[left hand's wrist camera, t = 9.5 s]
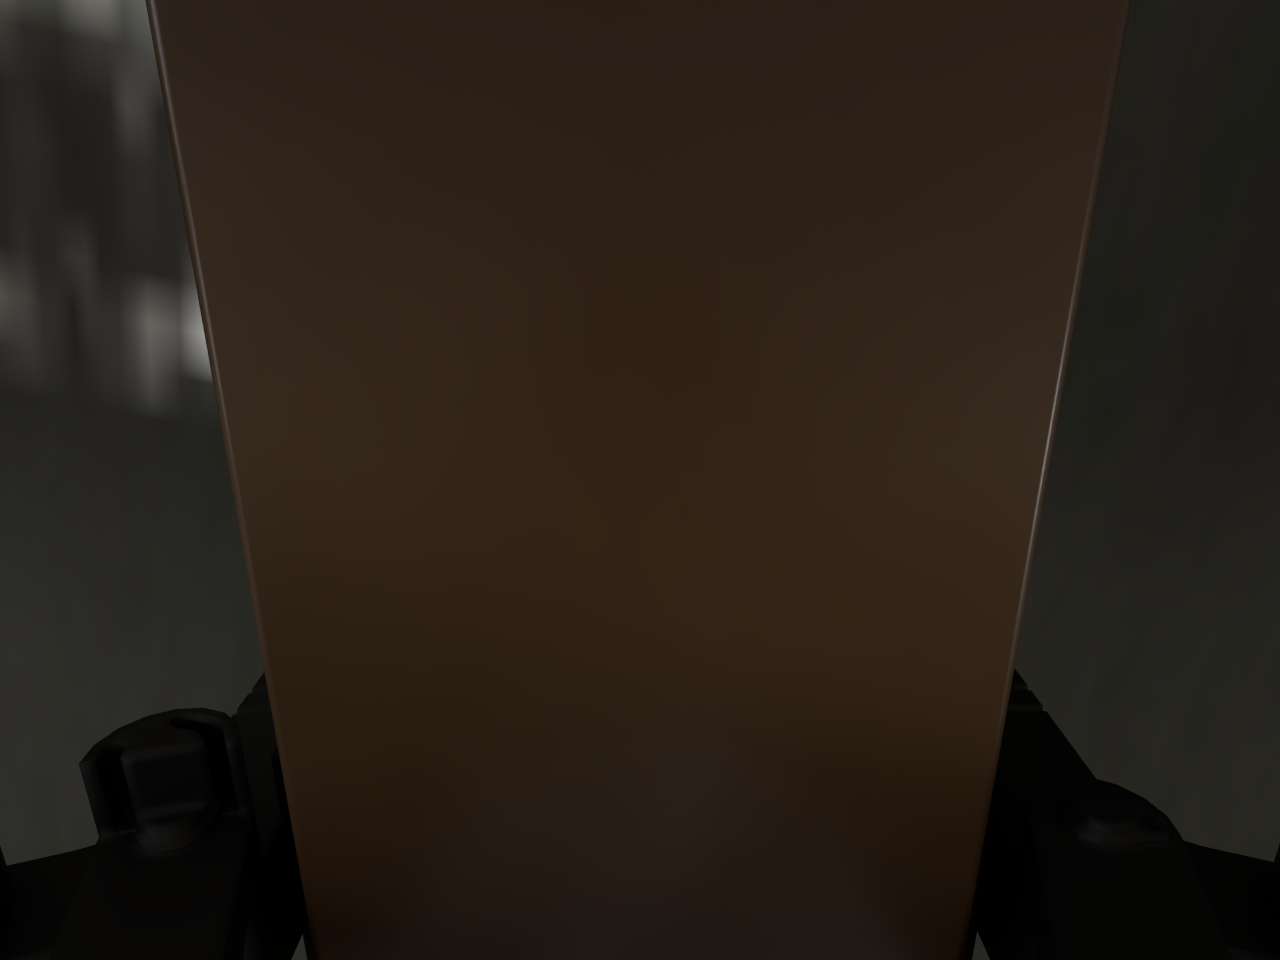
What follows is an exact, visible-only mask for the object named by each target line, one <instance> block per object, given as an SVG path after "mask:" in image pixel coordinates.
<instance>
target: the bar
mask: <svg viewBox="0 0 1280 960" xmlns="http://www.w3.org/2000/svg"><path fill="white" fill-rule="evenodd" d="M146 5H147V11H148V17H149V22H150V28H151V34H152V39H153V45H154V51H155V56H156V62H157V68H158V73H159V79H160V85H161V90H162V96H163V101H164V107H165V113H166V118H167V124H168V130H169V135H170V141H171V147H172V152H173V158H174V164H175V169H176V175H177V181H178V186H179V192H180V197H181V203H182V209H183V214H184V220H185V226H186V231H187V237H188V243H189V248H190V254H191V260H192V265H193V271H194V277H195V282H196V288H197V293H198V299H199V305H200V310H201V316H202V322H203V327H204V333H205V339H206V344H207V350H208V356H209V361H210V367H211V373H212V378H213V384H214V389H215V395H216V401H217V406H218V412H219V418H220V423H221V429H222V435H223V440H224V446H225V452H226V457H227V463H228V469H229V474H230V480H231V485H232V491H233V497H234V502H235V508H236V514H237V519H238V525H239V531H240V536H241V542H242V548H243V553H244V559H245V565H246V570H247V576H248V581H249V587H250V593H251V598H252V604H253V610H254V615H255V621H256V627H257V632H258V638H259V644H260V649H261V655H262V661H263V666H264V672H265V677H266V683H267V689H268V694H269V700H270V706H271V711H272V717H273V723H274V728H275V734H276V740H277V745H278V751H279V757H280V762H281V768H282V773H283V779H284V785H285V790H286V796H287V802H288V807H289V813H290V819H291V824H292V830H293V836H294V841H295V847H296V853H297V858H298V864H299V869H300V875H301V881H302V886H303V892H304V898H305V903H306V909H307V915H308V920H309V926H310V932H311V937H312V943H313V949H314V954H315V960H963V958H964V952H965V946H966V940H967V935H968V929H969V923H970V918H971V912H972V906H973V900H974V895H975V889H976V883H977V878H978V872H979V866H980V861H981V855H982V849H983V843H984V838H985V832H986V826H987V821H988V815H989V809H990V803H991V798H992V792H993V786H994V781H995V775H996V769H997V764H998V758H999V752H1000V746H1001V741H1002V735H1003V729H1004V724H1005V718H1006V712H1007V706H1008V701H1009V695H1010V689H1011V684H1012V678H1013V672H1014V667H1015V661H1016V655H1017V649H1018V644H1019V638H1020V632H1021V627H1022V621H1023V615H1024V610H1025V604H1026V598H1027V592H1028V587H1029V581H1030V575H1031V570H1032V564H1033V558H1034V552H1035V547H1036V541H1037V535H1038V530H1039V524H1040V518H1041V513H1042V507H1043V501H1044V495H1045V490H1046V484H1047V478H1048V473H1049V467H1050V461H1051V455H1052V450H1053V444H1054V438H1055V433H1056V427H1057V421H1058V416H1059V410H1060V404H1061V398H1062V393H1063V387H1064V381H1065V376H1066V370H1067V364H1068V359H1069V353H1070V347H1071V341H1072V336H1073V330H1074V324H1075V319H1076V313H1077V307H1078V301H1079V296H1080V290H1081V284H1082V279H1083V273H1084V267H1085V262H1086V256H1087V250H1088V244H1089V239H1090V233H1091V227H1092V222H1093V216H1094V210H1095V204H1096V199H1097V193H1098V187H1099V182H1100V176H1101V170H1102V165H1103V159H1104V153H1105V147H1106V142H1107V136H1108V130H1109V125H1110V119H1111V113H1112V108H1113V102H1114V96H1115V90H1116V85H1117V79H1118V73H1119V68H1120V62H1121V56H1122V50H1123V45H1124V39H1125V33H1126V28H1127V22H1128V16H1129V11H1130V5H1131V0H146Z"/></svg>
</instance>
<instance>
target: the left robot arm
mask: <svg viewBox="0 0 1280 960" xmlns="http://www.w3.org/2000/svg"><path fill="white" fill-rule="evenodd" d="M79 766H80V769H81V773H82V777H83V780H84V784H85V787H86V791H87V795H88V798H89V802H90V806H91V809H92V813H93V816H94V820H95V824H96V827H97V831H98V834H99V839H98V841H97V844H96V845H92V846H89V847H86V848H82V849H79V850H75V851H71V852H66V853H62V854H57V855H53V856H48V857H44V858H40V859H35V860H31V861H26V862H22V863H17V864H13V865H8V866H7V865H6V862H5V859H4V856H3V853H2V850H1V847H0V960H291V959H292V957H293V954H294V952H295V950H296V947H297V945H298V943H299V940H300V938H301V936H302V934H303V938H304V943H305V949H306V954H307V960H315V954H314V949H313V943H312V937H311V932H310V926H309V920H308V915H307V909H306V903H305V898H304V892H303V886H302V881H301V875H300V869H299V864H298V858H297V853H296V847H295V841H294V836H293V830H292V824H291V819H290V813H289V807H288V802H287V796H286V790H285V785H284V779H283V773H282V768H281V762H280V757H279V751H278V745H277V740H276V734H275V728H274V723H273V717H272V711H271V706H270V700H269V694H268V689H267V683H266V677H265V672H264V673H263V675H262V676H261V677H260V679H259V680H258V681H257V683H256V684H255V686H254V687H253V688H252V693H249V694H248V695H247V697H246V698H245V699H244V701H243V702H242V703H241V705H240V706H239V707H238V709H237V714H233V716H232V717H231V718H230V717H229V716H228V715H227V714H226V713H224V712H219V711H215V710H211V709H206V708H189V709H174V710H170V711H166V712H162V713H158V714H154V715H150V716H146V717H144V718H141V719H139V720H137V721H134V722H132V723H130V724H128V725H125V726H123V727H121V728H118V729H117V730H115V731H114V732H112V733H111V734H109V735H108V736H107V737H105V738H104V739H102V740H101V741H99V742H98V743H96V744H95V745H94V746H93V747H92V748H91V749H90V751H89V752H88V753H87V754H86V756H85V757H84V758H83V759H82V760H81V762H80V763H79ZM977 931H978V933H979V935H980V938H981V940H982V942H983V944H984V947H985V949H986V951H987V954H988V956H989V958H990V960H1280V845H1279V848H1278V851H1277V854H1276V857H1275V860H1274V862H1270V861H1266V860H1262V859H1257V858H1253V857H1248V856H1244V855H1239V854H1235V853H1230V852H1226V851H1221V850H1217V849H1212V848H1208V847H1203V846H1200V845H1197V844H1193V843H1190V842H1186V841H1183V840H1182V837H1181V835H1180V834H1179V832H1178V831H1177V830H1176V828H1175V827H1174V825H1173V824H1172V822H1171V821H1170V819H1169V818H1168V817H1167V816H1166V815H1165V814H1164V813H1163V812H1161V811H1160V810H1159V809H1157V808H1156V807H1155V806H1154V805H1152V804H1151V803H1150V802H1149V801H1147V800H1146V799H1145V798H1143V797H1141V796H1139V795H1137V794H1135V793H1133V792H1131V791H1129V790H1127V789H1125V788H1123V787H1121V786H1119V785H1116V784H1113V783H1109V782H1105V781H1102V780H1098V779H1096V778H1095V777H1094V775H1093V774H1092V773H1091V771H1090V770H1089V768H1088V767H1087V766H1086V764H1085V763H1084V762H1083V760H1082V759H1081V758H1080V756H1079V755H1078V754H1077V752H1076V751H1075V749H1074V748H1073V747H1072V745H1071V744H1070V743H1069V741H1068V740H1067V739H1066V737H1065V736H1064V734H1063V733H1062V732H1061V730H1060V729H1059V728H1058V726H1057V725H1056V724H1055V722H1054V721H1053V720H1052V718H1051V717H1050V715H1049V714H1048V713H1047V711H1043V706H1042V705H1041V703H1040V702H1039V701H1038V699H1037V698H1036V696H1035V695H1034V694H1033V692H1032V691H1031V690H1028V688H1027V684H1026V683H1025V682H1024V680H1023V679H1022V677H1021V676H1020V675H1019V673H1018V672H1017V671H1016V669H1015V668H1014V672H1013V678H1012V684H1011V689H1010V695H1009V701H1008V706H1007V712H1006V718H1005V724H1004V729H1003V735H1002V741H1001V746H1000V752H999V758H998V764H997V769H996V775H995V781H994V786H993V792H992V798H991V803H990V809H989V815H988V821H987V826H986V832H985V838H984V843H983V849H982V855H981V861H980V866H979V872H978V878H977V883H976V889H975V895H974V900H973V906H972V912H971V918H970V923H969V929H968V935H967V940H966V946H965V952H964V958H963V960H972V956H973V951H974V945H975V940H976V934H977Z"/></svg>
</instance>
